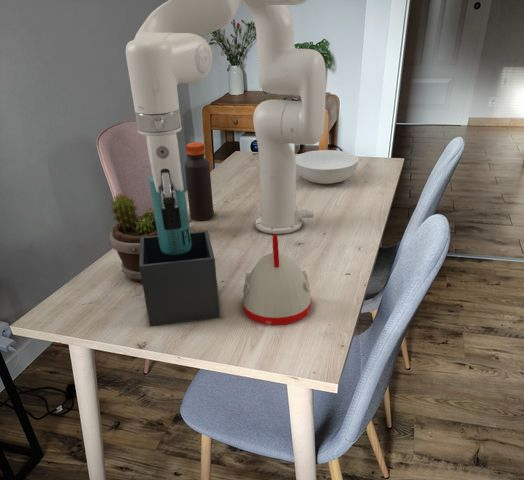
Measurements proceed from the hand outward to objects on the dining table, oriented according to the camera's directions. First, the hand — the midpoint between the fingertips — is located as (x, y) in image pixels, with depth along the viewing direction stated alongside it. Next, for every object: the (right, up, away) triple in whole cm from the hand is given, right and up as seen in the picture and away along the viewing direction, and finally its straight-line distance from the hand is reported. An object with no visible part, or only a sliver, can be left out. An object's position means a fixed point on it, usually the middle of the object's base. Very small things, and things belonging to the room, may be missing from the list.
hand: (172, 220), depth 102 cm
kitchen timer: (+20, -16, +9) cm, 27 cm away
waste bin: (+1, -15, +11) cm, 18 cm away
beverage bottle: (0, -6, +4) cm, 7 cm away
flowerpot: (-9, -7, +23) cm, 26 cm away
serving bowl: (+38, +32, +76) cm, 91 cm away
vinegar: (0, +14, +52) cm, 53 cm away
